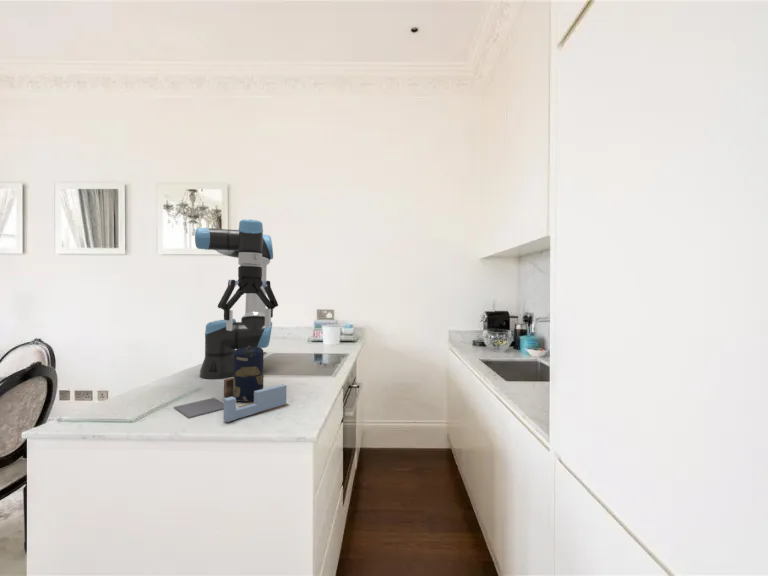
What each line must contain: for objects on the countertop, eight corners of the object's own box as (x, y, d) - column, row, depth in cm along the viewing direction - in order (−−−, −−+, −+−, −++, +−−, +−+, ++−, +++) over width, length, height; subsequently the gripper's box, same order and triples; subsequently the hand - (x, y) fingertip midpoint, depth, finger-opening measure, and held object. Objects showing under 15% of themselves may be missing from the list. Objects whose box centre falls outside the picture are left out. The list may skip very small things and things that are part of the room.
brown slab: (220, 397, 115) (221, 380, 115) (254, 390, 124) (254, 373, 124) (254, 415, 101) (254, 395, 101) (289, 405, 110) (289, 386, 110)
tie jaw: (223, 419, 96) (223, 398, 96) (282, 402, 110) (283, 384, 110) (227, 422, 94) (227, 400, 94) (287, 404, 109) (287, 385, 109)
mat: (173, 408, 105) (173, 406, 105) (213, 398, 114) (213, 397, 114) (188, 418, 97) (188, 417, 97) (230, 407, 106) (230, 406, 106)
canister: (267, 394, 119) (268, 343, 119) (255, 404, 110) (255, 348, 110) (242, 393, 120) (242, 342, 120) (227, 402, 111) (227, 347, 111)
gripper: (217, 263, 103) (216, 333, 103) (288, 267, 122) (287, 326, 122) (207, 264, 108) (206, 330, 108) (277, 268, 127) (276, 325, 127)
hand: (249, 328), depth 115 cm, fingers open, 13 cm apart
